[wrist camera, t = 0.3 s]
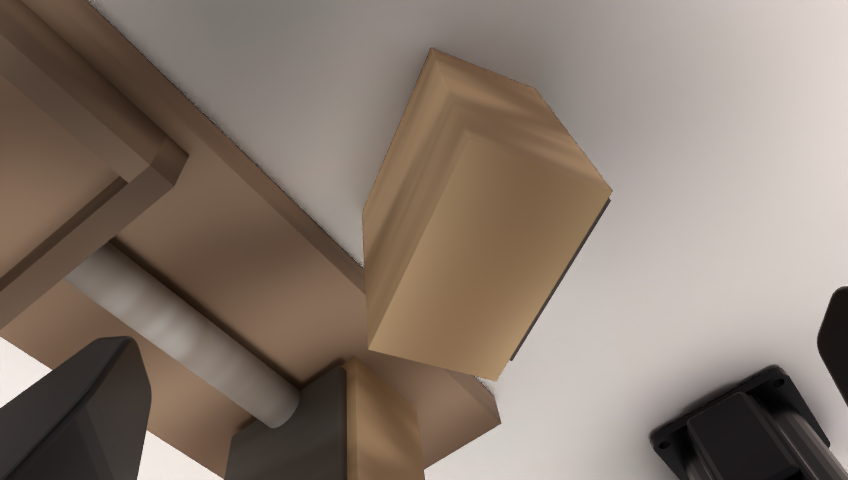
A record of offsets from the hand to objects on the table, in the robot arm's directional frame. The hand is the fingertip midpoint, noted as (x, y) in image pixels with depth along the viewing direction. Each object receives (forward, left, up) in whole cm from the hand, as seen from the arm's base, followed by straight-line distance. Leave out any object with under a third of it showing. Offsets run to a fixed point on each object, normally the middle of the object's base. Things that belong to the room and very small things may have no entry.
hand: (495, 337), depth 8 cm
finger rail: (-2, +11, -13) cm, 17 cm away
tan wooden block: (-4, +1, -13) cm, 14 cm away
